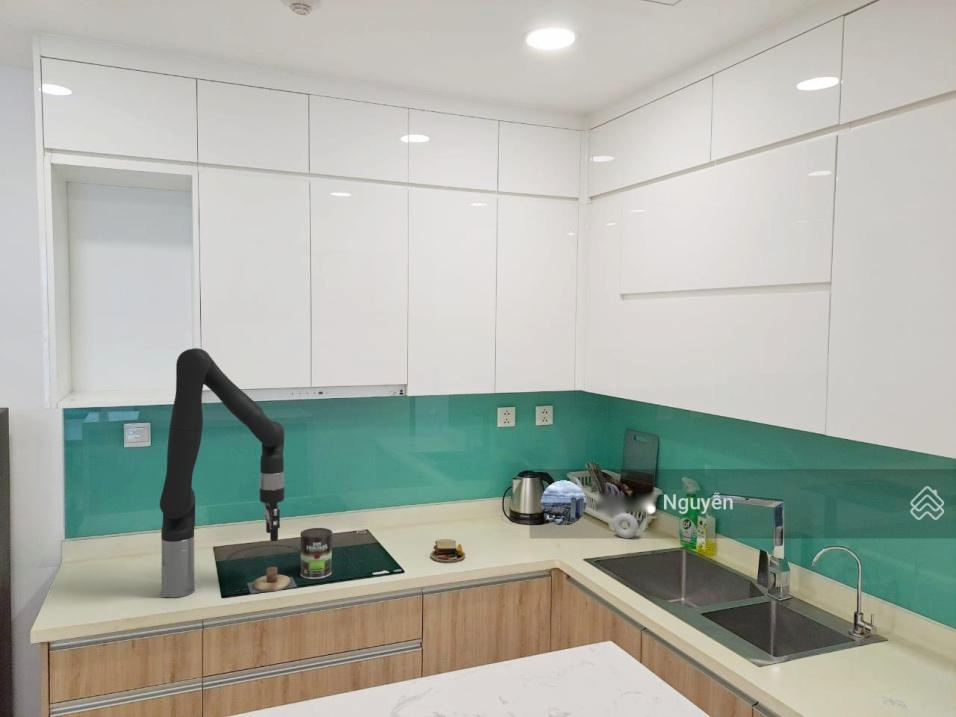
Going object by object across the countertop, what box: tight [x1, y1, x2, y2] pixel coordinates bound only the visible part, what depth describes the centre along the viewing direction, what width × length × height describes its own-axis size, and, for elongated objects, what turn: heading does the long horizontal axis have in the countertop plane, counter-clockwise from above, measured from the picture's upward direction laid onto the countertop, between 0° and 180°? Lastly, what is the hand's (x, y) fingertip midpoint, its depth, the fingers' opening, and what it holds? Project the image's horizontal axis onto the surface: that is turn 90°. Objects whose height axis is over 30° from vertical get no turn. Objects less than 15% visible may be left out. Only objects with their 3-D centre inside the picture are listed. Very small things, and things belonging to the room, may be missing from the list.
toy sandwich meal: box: [430, 538, 466, 563], centre depth 248 cm, size 12×14×5 cm
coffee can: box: [299, 527, 333, 580], centre depth 228 cm, size 10×10×14 cm
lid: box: [253, 566, 290, 593], centre depth 218 cm, size 11×11×5 cm
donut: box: [612, 512, 639, 539], centre depth 272 cm, size 10×4×10 cm, turn 66°
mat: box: [246, 576, 298, 594], centre depth 218 cm, size 14×9×1 cm, turn 115°
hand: (271, 536), depth 217 cm, fingers open, 8 cm apart
